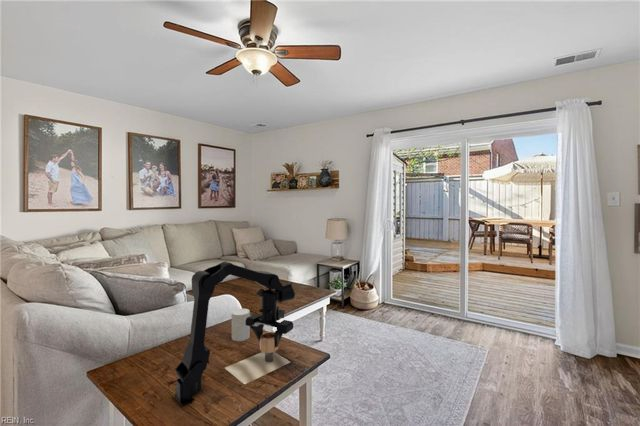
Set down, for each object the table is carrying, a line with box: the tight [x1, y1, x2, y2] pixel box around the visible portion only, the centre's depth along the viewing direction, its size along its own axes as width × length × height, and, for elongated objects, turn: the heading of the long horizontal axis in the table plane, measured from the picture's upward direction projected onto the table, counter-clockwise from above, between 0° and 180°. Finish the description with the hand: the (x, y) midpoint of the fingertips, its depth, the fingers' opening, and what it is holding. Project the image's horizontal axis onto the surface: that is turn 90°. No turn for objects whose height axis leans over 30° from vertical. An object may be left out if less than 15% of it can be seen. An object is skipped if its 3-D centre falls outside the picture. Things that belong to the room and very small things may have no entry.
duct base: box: [224, 351, 291, 385], centre depth 112 cm, size 20×14×6 cm
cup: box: [231, 308, 251, 342], centre depth 137 cm, size 8×8×12 cm
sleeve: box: [259, 331, 279, 353], centre depth 115 cm, size 7×7×5 cm
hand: (269, 345), depth 115 cm, fingers closed on sleeve, 7 cm apart
